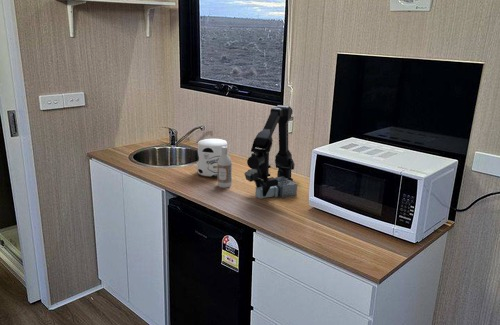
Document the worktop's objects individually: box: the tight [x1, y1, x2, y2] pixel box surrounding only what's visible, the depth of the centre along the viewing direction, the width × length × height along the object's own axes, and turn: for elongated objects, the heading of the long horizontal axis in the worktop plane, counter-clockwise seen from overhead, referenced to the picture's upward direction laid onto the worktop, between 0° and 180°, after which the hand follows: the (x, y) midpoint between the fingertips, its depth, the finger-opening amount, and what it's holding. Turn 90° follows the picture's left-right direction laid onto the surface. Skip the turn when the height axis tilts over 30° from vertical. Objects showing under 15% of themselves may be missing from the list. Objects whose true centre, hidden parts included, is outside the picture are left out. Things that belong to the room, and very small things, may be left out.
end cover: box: [254, 186, 279, 200], centre depth 206 cm, size 16×6×5 cm, turn 120°
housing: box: [274, 176, 298, 199], centre depth 209 cm, size 8×12×6 cm, turn 30°
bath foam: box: [217, 145, 233, 189], centre depth 215 cm, size 7×7×20 cm
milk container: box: [196, 138, 228, 178], centre depth 231 cm, size 17×17×18 cm
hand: (261, 194), depth 204 cm, fingers closed on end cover, 4 cm apart
